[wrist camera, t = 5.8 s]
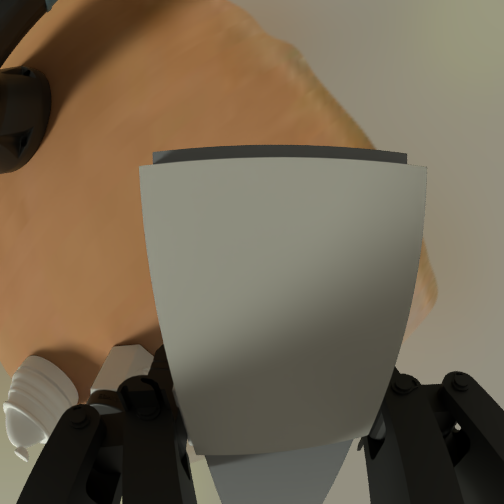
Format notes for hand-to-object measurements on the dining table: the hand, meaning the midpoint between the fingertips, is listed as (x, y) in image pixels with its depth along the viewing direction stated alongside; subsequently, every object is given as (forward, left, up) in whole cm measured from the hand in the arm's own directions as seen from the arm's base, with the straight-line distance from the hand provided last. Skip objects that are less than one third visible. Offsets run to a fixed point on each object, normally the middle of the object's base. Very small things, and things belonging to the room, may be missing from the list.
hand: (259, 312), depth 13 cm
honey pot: (+25, -38, -19) cm, 50 cm away
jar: (+19, -17, -19) cm, 32 cm away
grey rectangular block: (0, 0, 0) cm, 0 cm away
